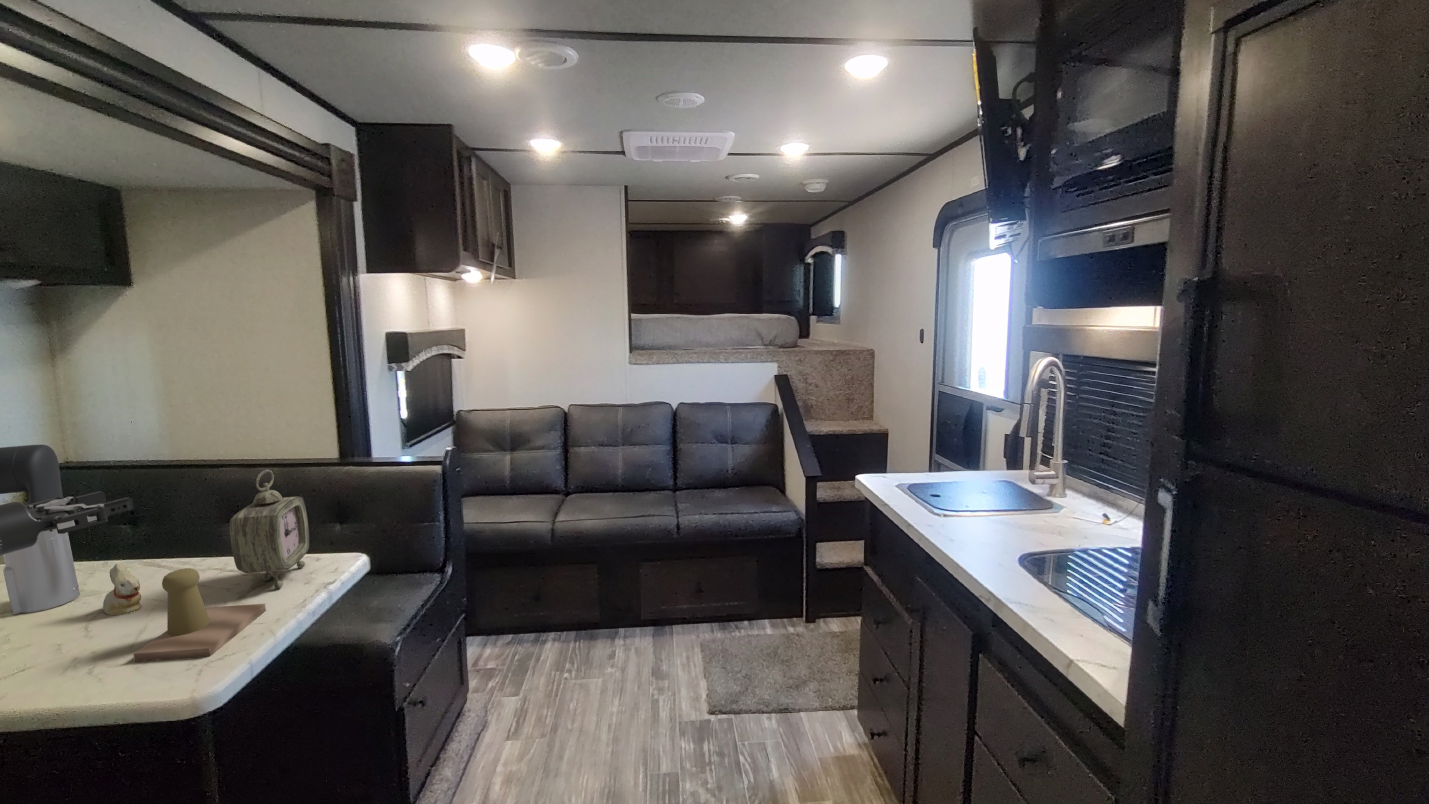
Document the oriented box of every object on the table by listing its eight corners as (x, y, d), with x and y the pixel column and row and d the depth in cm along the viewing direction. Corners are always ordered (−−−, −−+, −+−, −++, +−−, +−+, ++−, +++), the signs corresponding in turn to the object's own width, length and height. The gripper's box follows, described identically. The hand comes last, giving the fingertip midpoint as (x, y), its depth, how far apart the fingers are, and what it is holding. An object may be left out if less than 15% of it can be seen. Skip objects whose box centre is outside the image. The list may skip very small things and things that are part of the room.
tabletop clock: (284, 591, 130) (268, 478, 126) (235, 596, 129) (218, 481, 124) (313, 563, 144) (300, 461, 140) (270, 567, 143) (255, 463, 138)
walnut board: (210, 656, 107) (208, 648, 106) (134, 661, 105) (133, 653, 105) (266, 610, 122) (265, 603, 122) (201, 614, 121) (199, 607, 121)
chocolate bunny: (107, 621, 119) (98, 572, 118) (102, 608, 124) (93, 562, 123) (145, 610, 123) (136, 563, 122) (139, 598, 128) (130, 553, 127)
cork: (162, 639, 110) (152, 581, 108) (172, 623, 115) (163, 568, 113) (205, 630, 112) (196, 574, 110) (213, 615, 118) (204, 561, 116)
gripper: (0, 517, 89) (137, 484, 104) (-46, 504, 95) (91, 474, 109) (12, 565, 91) (145, 525, 106) (-34, 550, 96) (99, 514, 111)
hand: (117, 499), depth 107 cm, fingers open, 8 cm apart
